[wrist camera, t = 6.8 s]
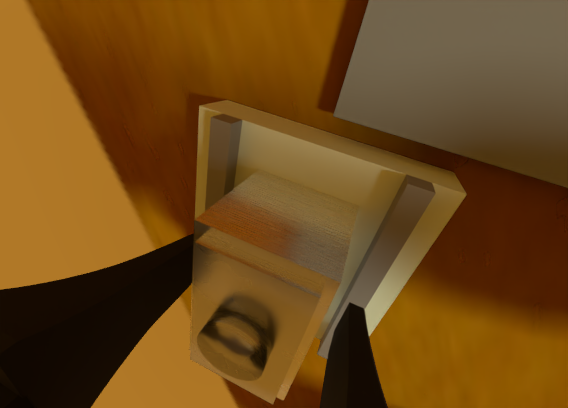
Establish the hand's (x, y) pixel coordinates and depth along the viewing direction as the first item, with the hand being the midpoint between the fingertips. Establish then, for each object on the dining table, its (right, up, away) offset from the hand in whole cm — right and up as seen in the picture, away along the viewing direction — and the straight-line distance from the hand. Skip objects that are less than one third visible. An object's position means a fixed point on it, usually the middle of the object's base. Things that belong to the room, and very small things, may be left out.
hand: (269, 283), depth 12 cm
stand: (+2, +2, +4) cm, 5 cm away
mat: (+12, +9, -4) cm, 15 cm away
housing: (+1, +1, +2) cm, 3 cm away
